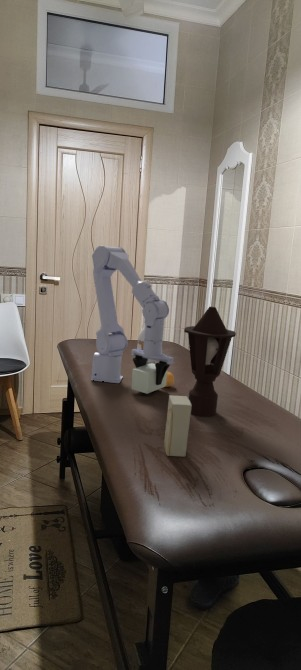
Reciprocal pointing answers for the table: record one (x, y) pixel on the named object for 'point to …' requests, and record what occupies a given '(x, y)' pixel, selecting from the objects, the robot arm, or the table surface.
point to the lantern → (207, 360)
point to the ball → (169, 379)
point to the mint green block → (146, 379)
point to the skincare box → (177, 425)
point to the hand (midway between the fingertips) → (149, 382)
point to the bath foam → (141, 344)
